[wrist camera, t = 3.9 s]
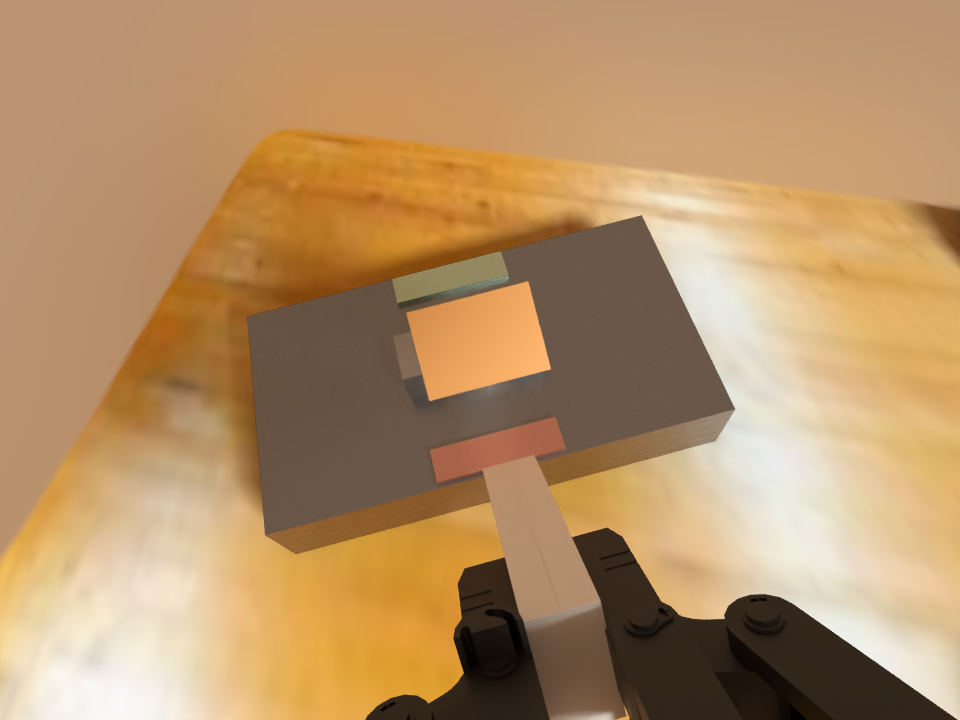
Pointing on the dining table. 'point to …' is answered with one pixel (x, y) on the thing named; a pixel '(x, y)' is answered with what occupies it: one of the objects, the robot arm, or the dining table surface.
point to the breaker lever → (478, 341)
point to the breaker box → (480, 412)
